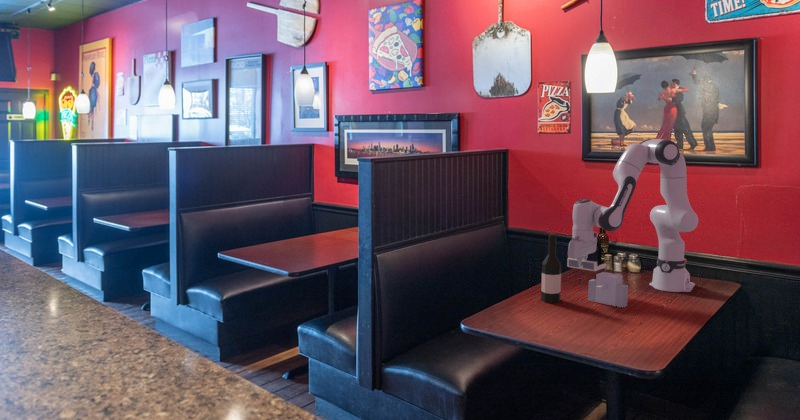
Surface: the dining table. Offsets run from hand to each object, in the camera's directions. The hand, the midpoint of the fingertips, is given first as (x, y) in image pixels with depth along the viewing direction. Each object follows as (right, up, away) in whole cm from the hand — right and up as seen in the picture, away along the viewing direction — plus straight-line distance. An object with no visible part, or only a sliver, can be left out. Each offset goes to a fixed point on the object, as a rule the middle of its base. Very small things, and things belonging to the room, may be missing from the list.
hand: (581, 265), depth 277 cm
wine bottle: (-17, -15, -9) cm, 24 cm away
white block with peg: (+5, -16, -15) cm, 23 cm away
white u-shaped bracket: (+3, -1, +3) cm, 5 cm away
